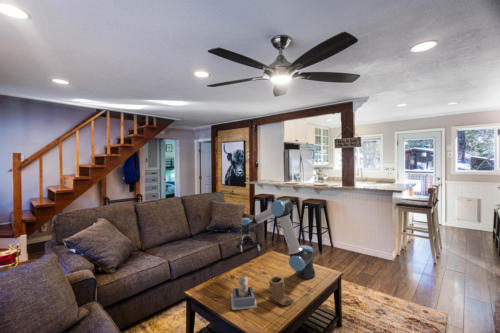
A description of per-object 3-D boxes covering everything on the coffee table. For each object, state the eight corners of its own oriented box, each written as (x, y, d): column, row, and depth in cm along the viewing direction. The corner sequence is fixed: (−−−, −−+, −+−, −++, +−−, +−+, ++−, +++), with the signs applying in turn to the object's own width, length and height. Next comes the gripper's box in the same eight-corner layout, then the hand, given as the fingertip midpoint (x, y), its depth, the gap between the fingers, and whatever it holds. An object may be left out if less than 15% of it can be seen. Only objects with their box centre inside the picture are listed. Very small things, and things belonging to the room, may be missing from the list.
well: (253, 293, 168) (253, 285, 168) (257, 307, 152) (257, 299, 152) (230, 295, 166) (230, 287, 165) (232, 309, 150) (232, 301, 150)
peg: (247, 296, 163) (246, 275, 162) (248, 302, 157) (248, 279, 156) (238, 298, 161) (237, 276, 161) (239, 303, 156) (239, 280, 155)
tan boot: (265, 298, 162) (265, 276, 161) (278, 292, 169) (278, 271, 168) (281, 310, 150) (281, 286, 149) (294, 303, 157) (294, 280, 156)
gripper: (261, 243, 202) (267, 253, 181) (232, 245, 199) (234, 255, 178) (261, 234, 202) (267, 243, 181) (232, 236, 198) (234, 245, 177)
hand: (250, 249), depth 179 cm, fingers open, 13 cm apart
